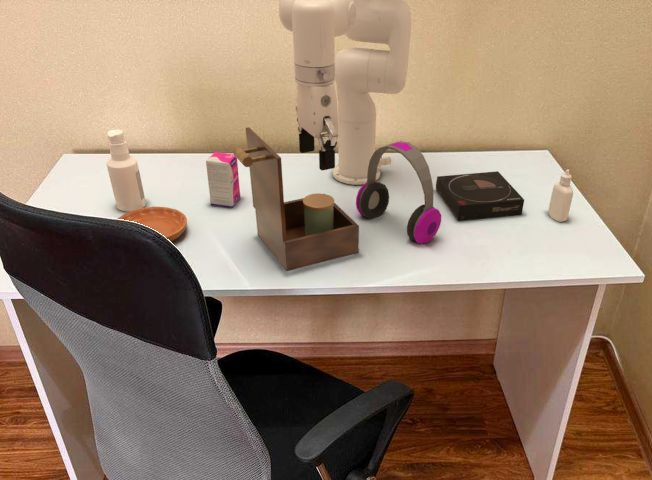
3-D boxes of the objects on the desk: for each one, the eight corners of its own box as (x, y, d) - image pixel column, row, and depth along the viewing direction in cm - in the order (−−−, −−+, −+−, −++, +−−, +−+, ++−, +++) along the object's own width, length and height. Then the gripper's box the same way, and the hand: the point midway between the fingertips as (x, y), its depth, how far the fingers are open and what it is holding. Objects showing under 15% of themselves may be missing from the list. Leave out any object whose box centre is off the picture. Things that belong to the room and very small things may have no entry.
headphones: (443, 238, 150) (452, 154, 138) (417, 252, 145) (424, 165, 133) (377, 207, 161) (380, 126, 149) (352, 219, 156) (352, 136, 144)
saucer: (144, 212, 157) (142, 200, 155) (202, 225, 152) (200, 213, 150) (99, 243, 145) (96, 231, 143) (161, 258, 141) (158, 246, 139)
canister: (326, 230, 150) (325, 191, 144) (339, 243, 146) (339, 203, 139) (299, 236, 147) (297, 197, 141) (312, 250, 143) (310, 210, 137)
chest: (325, 222, 155) (324, 193, 150) (358, 256, 143) (359, 225, 139) (257, 238, 148) (255, 208, 144) (286, 274, 137) (284, 243, 132)
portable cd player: (494, 184, 173) (497, 170, 170) (521, 214, 160) (524, 199, 158) (435, 190, 170) (436, 175, 167) (457, 221, 157) (459, 205, 154)
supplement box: (233, 208, 159) (228, 163, 152) (210, 205, 160) (203, 160, 153) (241, 198, 164) (237, 153, 156) (219, 195, 164) (213, 151, 157)
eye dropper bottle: (565, 212, 162) (576, 165, 154) (567, 223, 157) (578, 175, 150) (547, 210, 162) (557, 164, 154) (548, 221, 158) (558, 174, 150)
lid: (249, 127, 133) (222, 131, 130) (281, 157, 121) (252, 163, 119) (256, 206, 144) (232, 211, 141) (286, 240, 132) (260, 247, 130)
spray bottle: (152, 202, 160) (137, 129, 149) (133, 214, 156) (116, 140, 144) (130, 196, 163) (113, 124, 151) (110, 208, 158) (92, 134, 146)
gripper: (353, 83, 119) (352, 172, 130) (313, 58, 131) (316, 142, 142) (315, 88, 116) (318, 179, 127) (278, 62, 128) (283, 148, 139)
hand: (316, 160), depth 134 cm, fingers open, 9 cm apart
